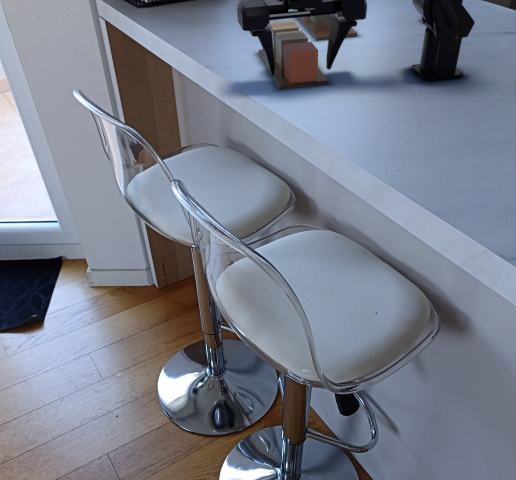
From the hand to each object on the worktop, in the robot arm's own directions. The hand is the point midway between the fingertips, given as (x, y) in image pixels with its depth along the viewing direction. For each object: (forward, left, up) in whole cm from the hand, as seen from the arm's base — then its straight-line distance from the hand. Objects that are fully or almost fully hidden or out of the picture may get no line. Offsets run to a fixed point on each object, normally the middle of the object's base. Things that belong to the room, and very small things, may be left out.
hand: (300, 71), depth 86 cm
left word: (+7, 0, -2) cm, 7 cm away
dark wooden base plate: (+30, -12, -2) cm, 32 cm away
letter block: (0, 0, -1) cm, 1 cm away
